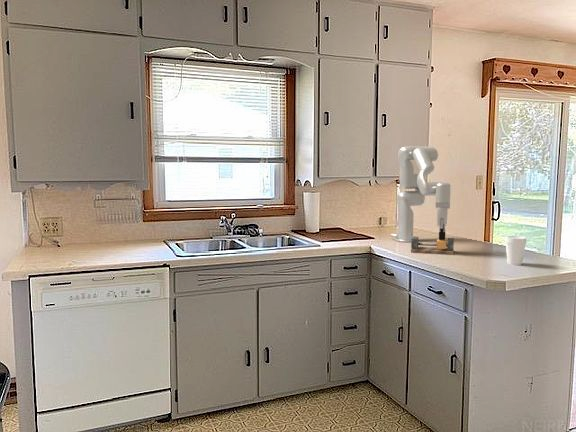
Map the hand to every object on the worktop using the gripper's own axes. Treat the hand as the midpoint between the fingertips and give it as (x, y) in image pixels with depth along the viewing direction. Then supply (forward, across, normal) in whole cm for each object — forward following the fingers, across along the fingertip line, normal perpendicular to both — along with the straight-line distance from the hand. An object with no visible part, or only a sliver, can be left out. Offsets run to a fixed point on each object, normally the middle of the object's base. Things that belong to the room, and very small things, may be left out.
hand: (442, 238), depth 263 cm
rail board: (+8, 0, -5) cm, 9 cm away
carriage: (+5, 0, 0) cm, 5 cm away
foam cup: (+8, +21, +35) cm, 42 cm away
